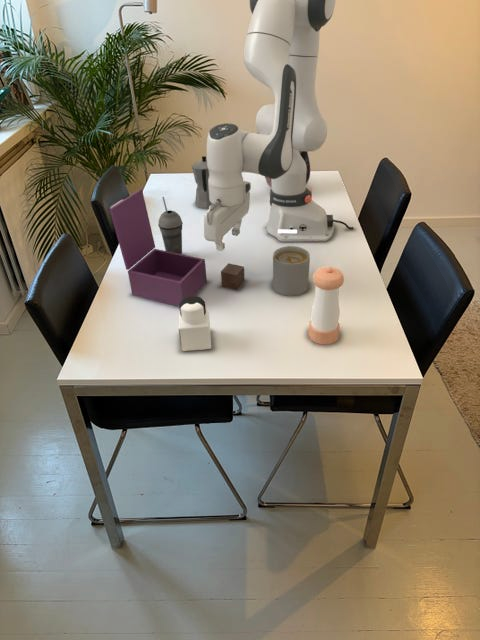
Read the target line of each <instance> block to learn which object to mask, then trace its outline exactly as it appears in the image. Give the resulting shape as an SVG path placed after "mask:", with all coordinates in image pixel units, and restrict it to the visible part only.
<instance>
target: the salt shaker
mask: <svg viewBox="0 0 480 640" xmlns="http://www.w3.org/2000/svg"><path fill="white" fill-rule="evenodd" d="M312 282H313V284H314V286H315V291H314V299H313V304H312V306H311V313H310V315H311V316H310V320H309V322H308V323H309V325H308V326H309V327H308V338H309V339H310V340H311V341H312V342H314V343H315V344H319V345H332V344H333V343H335V342H336V341H338V339H339V333H340V325H341V324H340V322H339V321H340V320H339V319H340V314H341V313H340V312H341V311H340V299H339V298H340V288H341V286H343V284H344V282H345V276H344V273H343V272H342V271H341V270H340V269H339V268H336V267H333V266H322V267H320V268H317V270H316V271H314V273H313V275H312Z"/></svg>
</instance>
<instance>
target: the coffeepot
mask: <svg viewBox="0 0 480 640" xmlns="http://www.w3.org/2000/svg"><path fill="white" fill-rule="evenodd" d="M191 169H192V173H193V178H194V181H195V184H196V190H195V201H194V202H195V203H194V204H195V205H196V207H197V208H199V209H202V210H203V209H204V210H206V209H207V210H209V206H210V205H212V204H213V203H211V202H210V200H209V186H208V179H209V170H208V167H207V155H204V156H203V155H202V156H201V160H198V161H195V162H194V163H192V164H191Z"/></svg>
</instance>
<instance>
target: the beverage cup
mask: <svg viewBox="0 0 480 640" xmlns="http://www.w3.org/2000/svg"><path fill="white" fill-rule="evenodd" d="M161 198H162V202H163V205H164V209H165V211H162V213H161V214H160V216H159V218H158V223H157V225H158V228H159V231H160V233H161V237H162V241H163V245H164V246H163V247H164V251H168V252H173V253H178V254H183V232H182V231H183V224H184V223H183V220H182V218H181V216H180V214H179V213H178V212H176V211H174V210H171V209H170V210H168V208H167V203H166V200H165V196H162V197H161Z"/></svg>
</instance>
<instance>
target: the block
mask: <svg viewBox="0 0 480 640" xmlns="http://www.w3.org/2000/svg"><path fill="white" fill-rule="evenodd" d="M245 277H246V275H245V266H244V265H239V264H234V263H227V264H226V265H225V266H224V267H223V268H222V270H221V271H220V283H221V288H225V289H230V290H234V291H238V290H239V289H240V288H241V287H242V285H244V283H245V281H246V278H245Z"/></svg>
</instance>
